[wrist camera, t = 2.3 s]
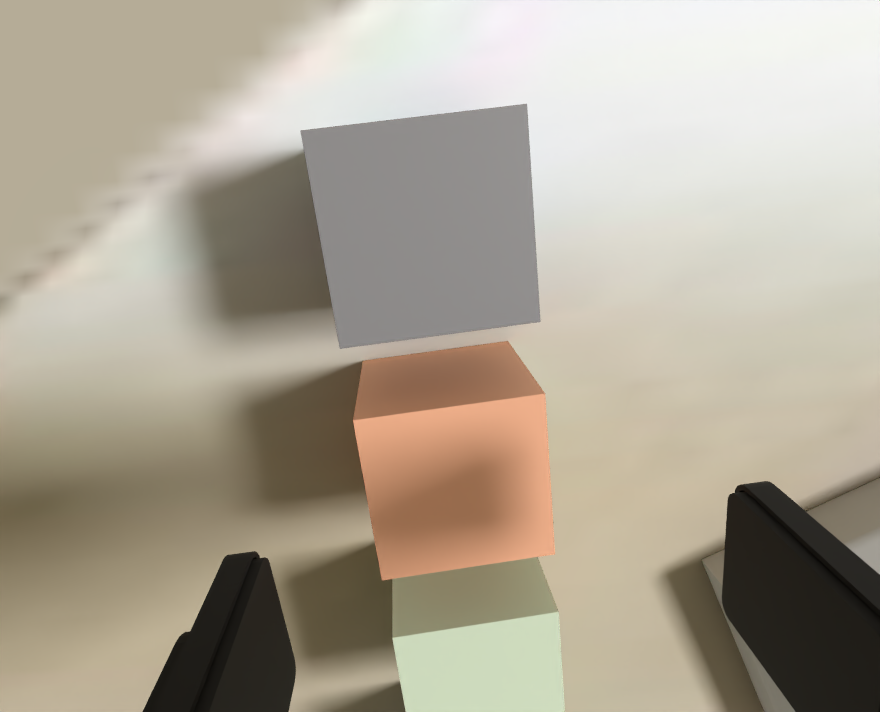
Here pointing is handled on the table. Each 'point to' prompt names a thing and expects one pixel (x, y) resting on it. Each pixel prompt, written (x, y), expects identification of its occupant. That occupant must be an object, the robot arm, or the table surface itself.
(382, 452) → the terracotta block
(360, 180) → the gray block
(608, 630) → the table surface
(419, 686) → the sage-green block
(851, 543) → the gray dark-screened device
